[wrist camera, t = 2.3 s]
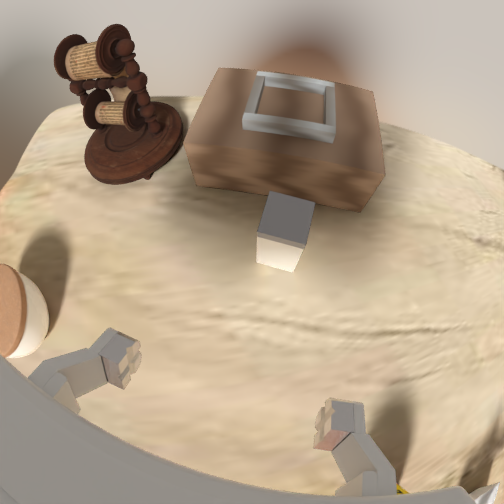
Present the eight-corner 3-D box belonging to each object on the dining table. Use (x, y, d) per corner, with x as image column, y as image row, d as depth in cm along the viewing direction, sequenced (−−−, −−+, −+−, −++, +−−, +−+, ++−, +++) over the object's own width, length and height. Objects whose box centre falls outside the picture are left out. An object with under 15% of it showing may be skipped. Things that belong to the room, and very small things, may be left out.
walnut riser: (357, 131, 37) (376, 83, 28) (360, 212, 32) (391, 166, 23) (223, 110, 38) (217, 58, 29) (196, 185, 33) (179, 132, 24)
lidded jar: (49, 267, 30) (4, 240, 21) (73, 341, 27) (20, 333, 18) (5, 302, 28) (-39, 285, 19) (24, 372, 25) (-25, 369, 16)
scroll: (201, 117, 38) (178, -4, 19) (157, 199, 33) (88, 67, 14) (122, 111, 39) (81, 15, 20) (75, 182, 34) (1, 88, 15)
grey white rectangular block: (301, 238, 31) (315, 202, 23) (292, 272, 30) (305, 244, 22) (266, 229, 31) (269, 190, 24) (256, 262, 30) (257, 231, 22)
